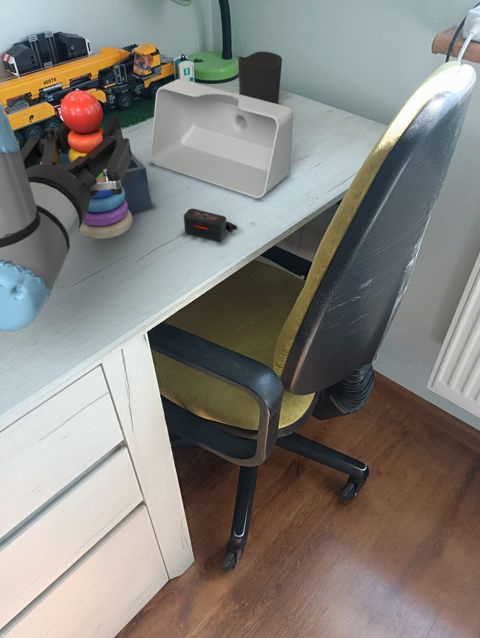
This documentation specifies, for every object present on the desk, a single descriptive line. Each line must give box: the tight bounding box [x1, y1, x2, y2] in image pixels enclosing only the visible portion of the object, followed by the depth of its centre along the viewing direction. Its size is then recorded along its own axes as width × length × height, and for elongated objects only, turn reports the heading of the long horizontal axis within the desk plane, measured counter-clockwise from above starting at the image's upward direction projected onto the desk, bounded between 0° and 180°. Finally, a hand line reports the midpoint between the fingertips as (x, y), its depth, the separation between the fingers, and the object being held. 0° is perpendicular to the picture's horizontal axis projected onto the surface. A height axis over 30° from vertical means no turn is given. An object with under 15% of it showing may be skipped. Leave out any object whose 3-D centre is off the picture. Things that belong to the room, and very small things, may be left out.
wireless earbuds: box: [183, 208, 238, 243], centre depth 80 cm, size 5×7×3 cm, turn 67°
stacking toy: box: [60, 89, 133, 239], centre depth 70 cm, size 8×8×19 cm
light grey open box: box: [149, 78, 294, 199], centre depth 93 cm, size 25×16×12 cm, turn 59°
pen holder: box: [237, 50, 283, 104], centre depth 114 cm, size 9×9×10 cm
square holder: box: [59, 148, 152, 214], centre depth 85 cm, size 13×13×7 cm
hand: (95, 123), depth 71 cm, fingers closed on stacking toy, 5 cm apart
